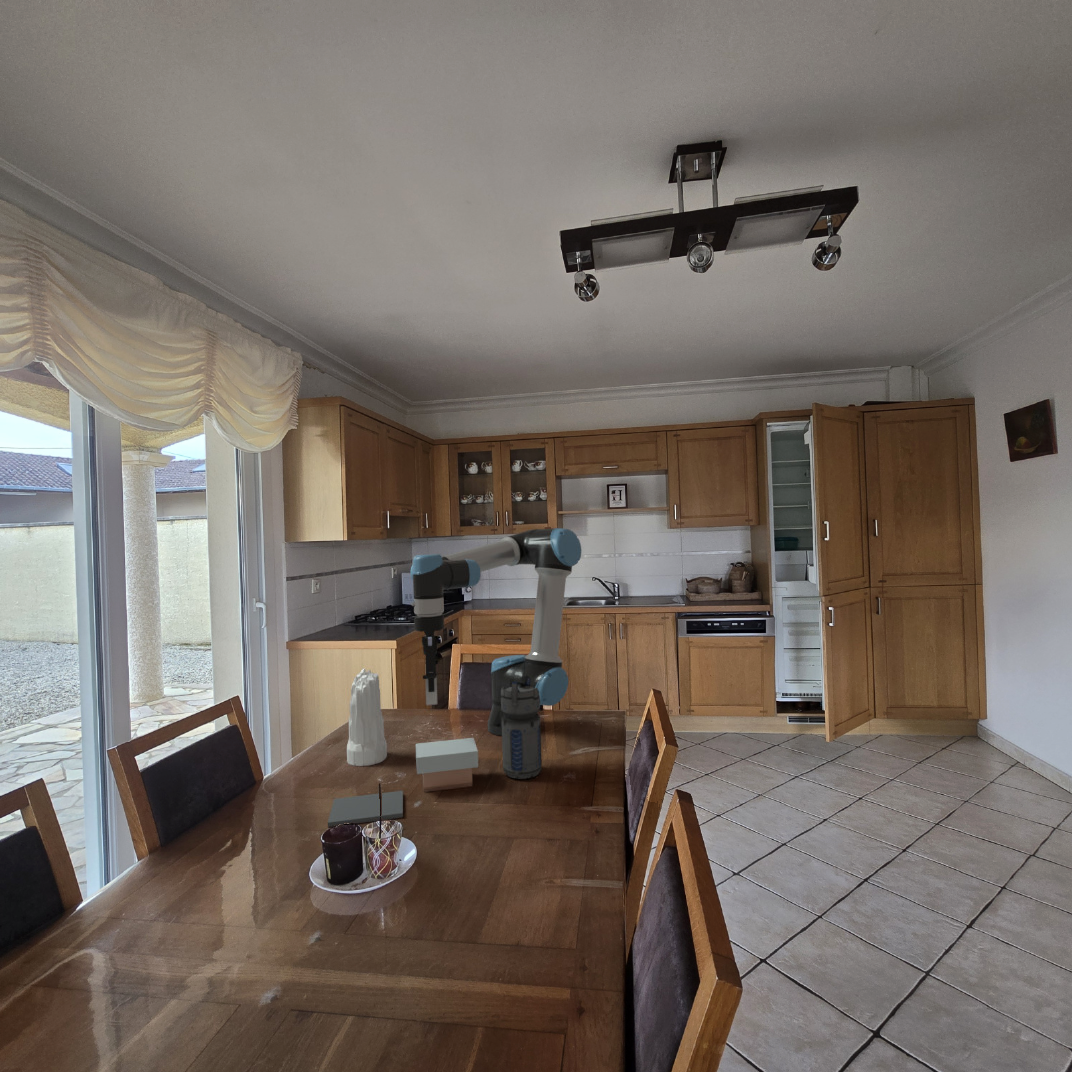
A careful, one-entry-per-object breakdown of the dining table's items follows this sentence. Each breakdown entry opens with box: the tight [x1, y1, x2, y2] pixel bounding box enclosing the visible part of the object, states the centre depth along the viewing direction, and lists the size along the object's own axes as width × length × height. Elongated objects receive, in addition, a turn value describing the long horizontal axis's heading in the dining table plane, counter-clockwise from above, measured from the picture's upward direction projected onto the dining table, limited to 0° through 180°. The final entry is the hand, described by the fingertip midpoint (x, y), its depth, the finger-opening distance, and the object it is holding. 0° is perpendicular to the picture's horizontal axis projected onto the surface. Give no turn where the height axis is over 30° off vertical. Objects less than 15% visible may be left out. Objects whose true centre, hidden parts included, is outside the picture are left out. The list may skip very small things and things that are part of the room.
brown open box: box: [422, 768, 473, 793], centre depth 152 cm, size 12×8×5 cm, turn 102°
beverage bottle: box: [501, 675, 543, 780], centre depth 157 cm, size 10×13×25 cm
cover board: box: [415, 737, 479, 775], centre depth 152 cm, size 15×10×4 cm, turn 102°
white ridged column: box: [346, 668, 388, 767], centre depth 170 cm, size 11×11×25 cm
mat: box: [327, 790, 404, 828], centre depth 138 cm, size 16×12×1 cm
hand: (431, 697), depth 153 cm, fingers open, 13 cm apart
